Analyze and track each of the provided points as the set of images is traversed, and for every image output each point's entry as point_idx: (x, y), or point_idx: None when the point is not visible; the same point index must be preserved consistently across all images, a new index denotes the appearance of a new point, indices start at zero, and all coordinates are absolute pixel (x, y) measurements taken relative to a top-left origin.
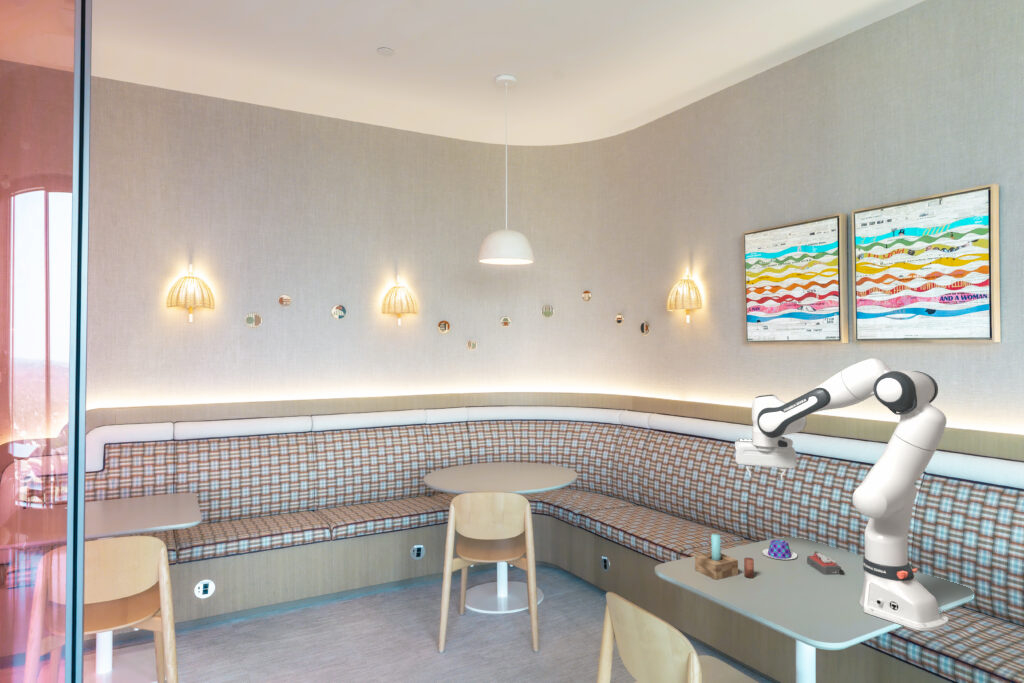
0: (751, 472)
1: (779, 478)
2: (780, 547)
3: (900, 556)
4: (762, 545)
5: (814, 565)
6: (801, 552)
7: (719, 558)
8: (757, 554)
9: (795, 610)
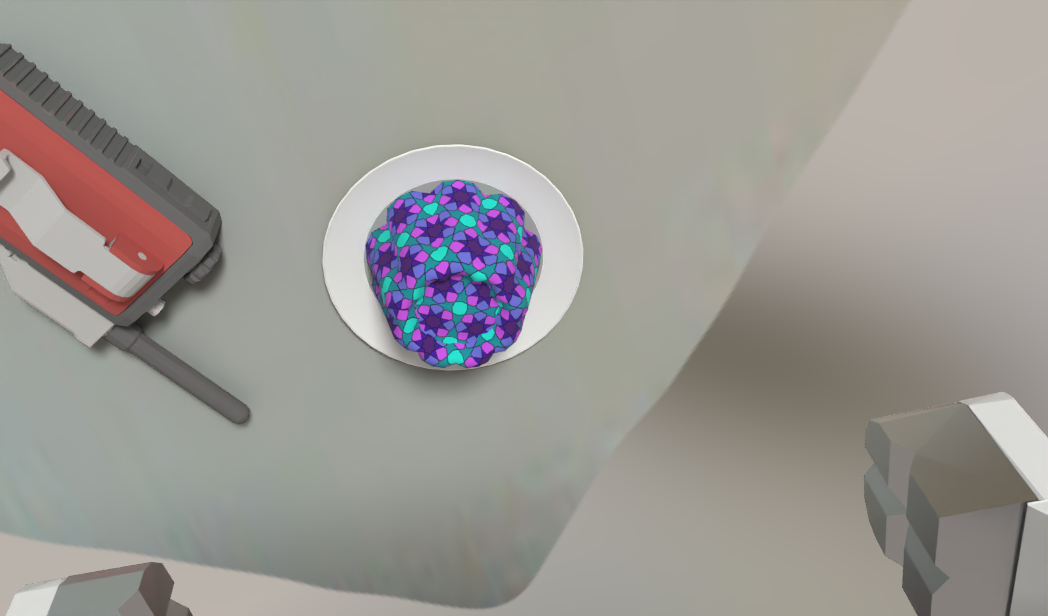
0: (1022, 566)
1: (87, 603)
2: (427, 249)
3: None
4: (619, 370)
5: (117, 145)
6: (343, 394)
7: None
8: (600, 170)
9: None
